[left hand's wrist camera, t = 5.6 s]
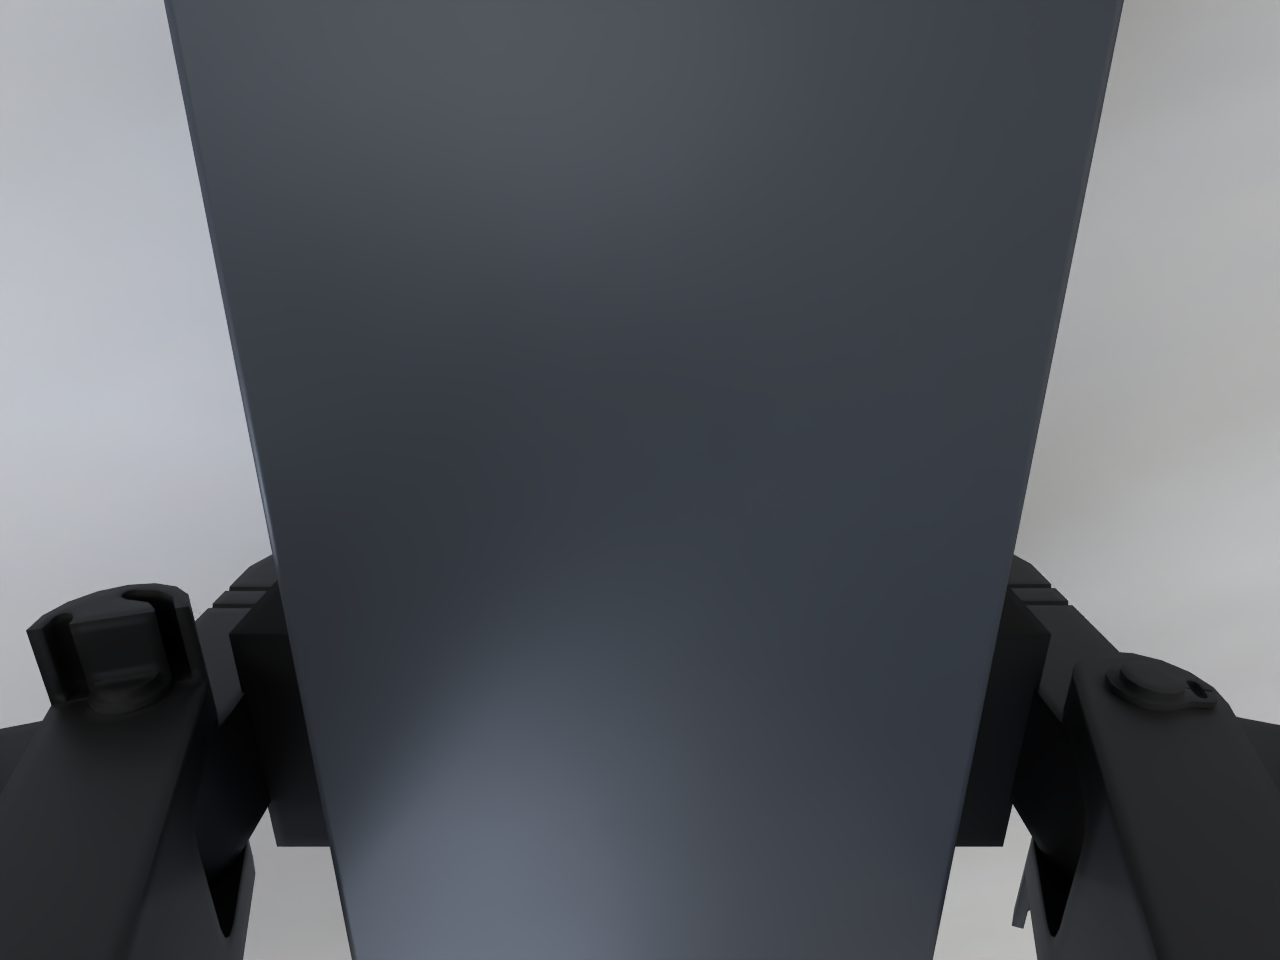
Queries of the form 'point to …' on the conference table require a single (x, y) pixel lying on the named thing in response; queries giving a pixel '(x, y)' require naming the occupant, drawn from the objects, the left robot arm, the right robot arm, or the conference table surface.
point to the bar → (643, 440)
